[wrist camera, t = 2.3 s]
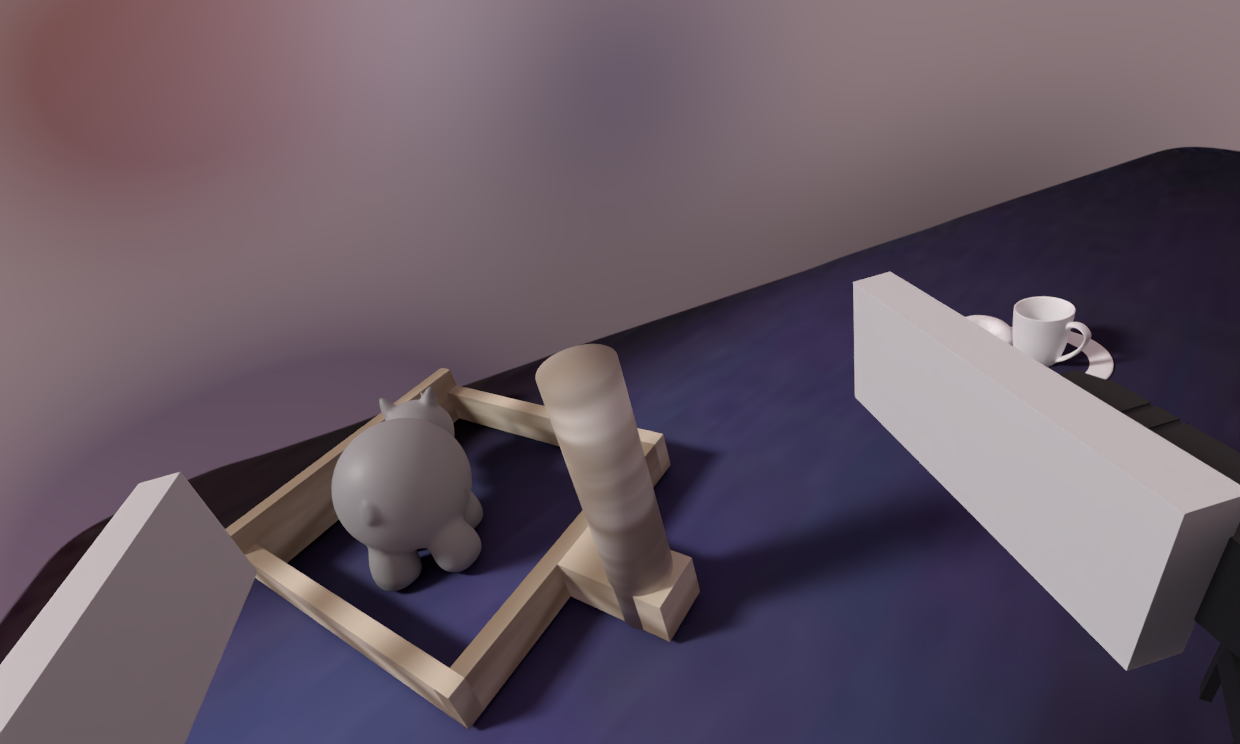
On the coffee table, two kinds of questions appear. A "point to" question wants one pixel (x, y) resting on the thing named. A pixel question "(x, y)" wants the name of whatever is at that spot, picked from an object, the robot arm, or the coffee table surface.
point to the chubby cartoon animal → (408, 493)
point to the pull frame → (573, 567)
